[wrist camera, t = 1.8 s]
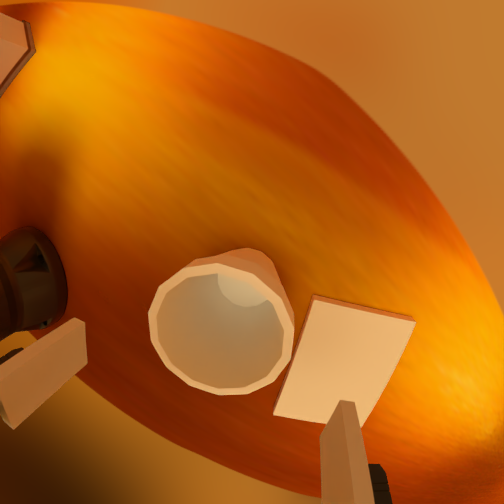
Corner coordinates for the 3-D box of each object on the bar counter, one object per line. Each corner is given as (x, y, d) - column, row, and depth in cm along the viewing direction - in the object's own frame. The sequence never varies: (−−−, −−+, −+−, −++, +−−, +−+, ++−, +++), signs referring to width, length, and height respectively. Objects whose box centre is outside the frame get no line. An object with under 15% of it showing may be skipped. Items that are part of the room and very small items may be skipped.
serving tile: (273, 406, 33) (272, 414, 32) (312, 294, 30) (313, 299, 28) (359, 420, 32) (361, 427, 31) (411, 316, 29) (416, 322, 27)
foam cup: (305, 248, 29) (316, 292, 16) (278, 329, 31) (269, 409, 18) (213, 221, 29) (159, 244, 17) (194, 303, 31) (142, 366, 19)
